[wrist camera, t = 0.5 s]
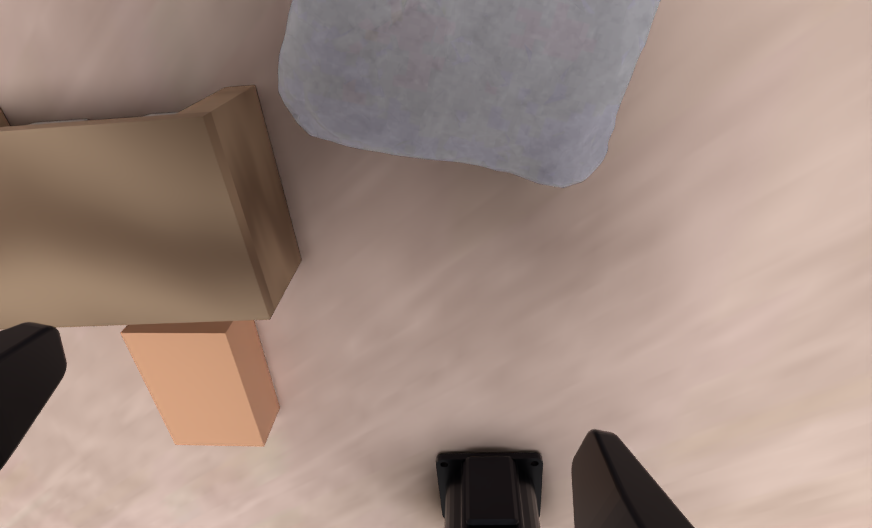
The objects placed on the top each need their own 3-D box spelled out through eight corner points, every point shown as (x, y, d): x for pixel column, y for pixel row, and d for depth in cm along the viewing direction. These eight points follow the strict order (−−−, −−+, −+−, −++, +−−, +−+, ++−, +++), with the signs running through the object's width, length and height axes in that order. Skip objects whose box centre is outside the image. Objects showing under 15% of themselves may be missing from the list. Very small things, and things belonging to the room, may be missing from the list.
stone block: (318, -181, 16) (295, 125, 20) (279, -280, 12) (257, 140, 15) (655, -100, 17) (575, 176, 21) (737, -162, 13) (618, 204, 16)
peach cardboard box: (281, 403, 29) (264, 446, 26) (200, 402, 29) (175, 444, 27) (249, 295, 25) (225, 333, 22) (154, 294, 25) (120, 332, 22)
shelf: (301, 260, 23) (269, 319, 19) (65, 271, 24) (-9, 329, 20) (254, 84, 19) (202, 116, 15) (-29, 107, 20) (-146, 141, 16)
